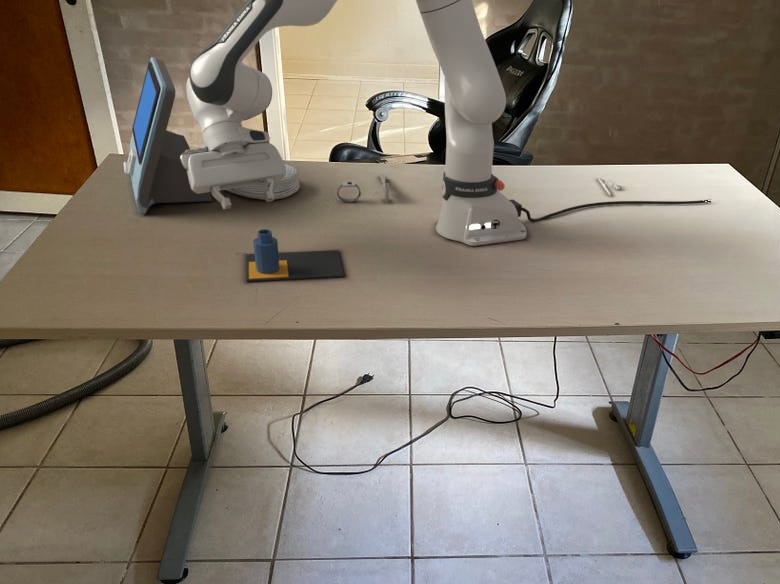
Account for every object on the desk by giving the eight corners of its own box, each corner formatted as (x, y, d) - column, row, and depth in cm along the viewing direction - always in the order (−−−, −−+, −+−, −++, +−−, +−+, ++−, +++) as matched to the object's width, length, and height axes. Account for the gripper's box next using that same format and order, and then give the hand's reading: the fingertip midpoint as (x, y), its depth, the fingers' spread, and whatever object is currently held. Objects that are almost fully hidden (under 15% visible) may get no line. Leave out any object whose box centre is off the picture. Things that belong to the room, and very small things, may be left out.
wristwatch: (337, 203, 192) (336, 185, 189) (336, 199, 194) (336, 181, 192) (361, 203, 193) (361, 184, 191) (360, 199, 195) (360, 181, 193)
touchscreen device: (124, 169, 203) (106, 54, 187) (198, 167, 211) (187, 55, 195) (131, 216, 176) (111, 86, 161) (215, 211, 184) (205, 86, 168)
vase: (279, 263, 159) (276, 226, 154) (279, 273, 155) (276, 236, 150) (256, 264, 158) (252, 227, 153) (256, 274, 154) (252, 237, 149)
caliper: (389, 203, 194) (389, 180, 191) (385, 203, 194) (385, 180, 191) (383, 177, 211) (383, 156, 208) (379, 177, 211) (380, 156, 208)
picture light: (597, 179, 221) (598, 172, 220) (611, 180, 222) (612, 173, 221) (609, 196, 210) (610, 189, 209) (623, 196, 210) (625, 189, 209)
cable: (218, 190, 195) (215, 167, 191) (268, 174, 207) (266, 153, 204) (263, 207, 187) (261, 184, 183) (313, 190, 199) (311, 168, 196)
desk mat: (337, 251, 167) (337, 249, 167) (344, 277, 157) (343, 274, 156) (246, 255, 163) (246, 253, 162) (246, 282, 152) (246, 279, 152)
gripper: (179, 143, 148) (202, 205, 147) (275, 131, 158) (297, 189, 157) (175, 158, 153) (198, 218, 152) (268, 146, 164) (290, 202, 163)
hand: (249, 203), depth 155 cm, fingers open, 8 cm apart
